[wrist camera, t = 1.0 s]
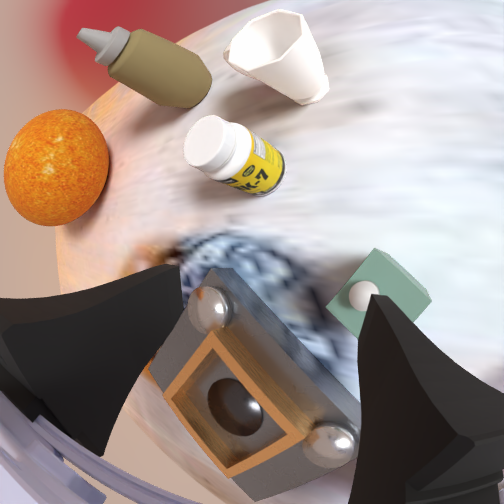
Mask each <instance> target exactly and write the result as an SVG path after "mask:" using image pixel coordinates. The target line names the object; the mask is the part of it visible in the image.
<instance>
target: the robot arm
mask: <svg viewBox="0 0 504 504" xmlns="http://www.w3.org/2000/svg"><path fill="white" fill-rule="evenodd" d="M183 310H184V308H183V299H182V290H181V281H180V270H179V266H175V265H169V264H163V265H159V266H155V267H152V268H149V269H146V270H143V271H140V272H138V273H135V274H132V275H129V276H127V277H124V278H121V279H118V280H115V281H112V282H109V283H106V284H103V285H100V286H97V287H94V288H90V289H86V290H82V291H78V292H74V293H69V294H63V295H57V296H51V297H44V298H28V299H10V298H0V504H103V503H104V501H105V500H106V495H105V494H103V493H102V492H100V491H99V490H97V489H96V488H95V487H93V486H92V485H91V484H89V483H88V482H87V481H85V480H84V479H83V478H82V477H80V476H79V475H78V474H77V473H76V472H75V471H74V470H72V469H71V468H70V467H68V466H67V465H66V464H65V463H64V460H63V457H64V458H65V459H67V460H68V461H69V462H71V463H72V464H73V465H75V466H76V467H78V468H79V469H80V470H82V471H83V472H85V473H86V474H88V475H89V476H91V477H92V478H94V479H96V480H97V481H99V482H100V483H102V484H104V485H105V486H107V487H109V488H110V489H112V490H114V491H116V492H117V493H119V494H121V495H123V496H125V497H127V498H128V499H130V500H132V501H134V502H136V503H138V504H201V503H198V502H195V501H192V500H189V499H186V498H183V497H181V496H178V495H175V494H173V493H170V492H168V491H165V490H163V489H161V488H158V487H156V486H154V485H151V484H149V483H147V482H145V481H143V480H141V479H139V478H137V477H135V476H133V475H131V474H129V473H127V472H125V471H123V470H121V469H119V468H117V467H116V466H114V465H112V464H110V463H109V462H107V461H105V460H103V459H102V458H100V457H101V456H103V455H104V452H105V448H106V445H107V442H108V440H109V437H110V434H111V431H112V429H113V426H114V424H115V422H116V420H117V417H118V415H119V413H120V410H121V408H122V406H123V404H124V402H125V400H126V398H127V396H128V394H129V392H130V391H131V389H132V387H133V385H134V384H135V382H136V380H137V378H138V377H139V375H140V373H141V372H142V370H143V369H144V367H145V366H146V365H147V363H148V362H149V361H150V359H151V358H152V357H153V356H154V354H155V353H156V352H157V350H158V349H159V348H160V346H161V345H162V344H163V342H164V341H165V340H166V338H167V337H168V336H169V334H170V333H171V332H172V330H173V329H174V327H175V325H176V323H177V322H178V320H179V318H180V316H181V314H182V312H183ZM357 363H358V374H359V387H360V400H361V431H360V442H359V450H358V457H357V464H356V470H355V475H354V480H353V485H352V490H351V494H350V498H349V502H348V504H504V488H503V489H501V490H499V491H498V484H497V483H500V482H501V481H502V480H503V478H504V477H503V471H502V469H504V393H502V392H500V391H498V390H496V389H495V388H493V387H491V386H489V385H487V384H486V383H484V382H483V381H481V380H479V379H478V378H476V377H475V376H473V375H472V374H471V373H469V372H468V371H466V370H465V369H463V368H462V367H461V366H459V365H458V364H457V363H455V362H454V361H453V360H452V359H451V358H449V357H448V356H447V355H446V354H445V353H443V352H442V351H441V350H440V349H439V348H438V347H437V346H436V345H435V344H434V343H433V342H432V341H430V340H429V339H428V338H427V337H426V336H425V335H424V334H423V333H422V332H421V331H420V330H419V329H418V327H417V326H416V325H415V324H414V323H413V322H412V321H411V320H410V319H409V318H408V317H407V316H406V315H405V313H404V312H403V311H402V310H401V309H400V308H399V307H398V306H397V305H396V304H395V303H394V302H393V301H392V300H391V299H390V298H389V297H388V296H387V295H378V294H371V296H370V300H369V304H368V307H367V311H366V314H365V318H364V321H363V325H362V328H361V331H360V334H359V337H358V360H357ZM62 456H63V457H62Z"/></svg>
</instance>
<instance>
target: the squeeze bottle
mask: <svg viewBox="0 0 504 504" xmlns="http://www.w3.org/2000/svg"><path fill="white" fill-rule="evenodd" d="M77 38H78V39H80V40H81V41H82V42H84V43H85V44H87V45H88V46H89V47H91V48H92V49H93V50H95V51H96V52H97V54H96V57H95V61H96V62H97V63H100V64H102V65H104V66H107V65H108V74H109V76H110V77H112V78H114V79H115V80H117V81H119V82H121V83H122V84H124V85H126V86H128V87H129V88H131V89H133V90H135V91H136V92H138V93H140V94H141V95H143V96H145V97H146V98H148V99H150V100H151V101H153V102H155V103H156V104H158V105H160V106H172V107H181V108H190V107H193V106H195V105H196V104H198V103H199V102H200V101H201V100H202V99H203V98H204V97H205V95H206V94H207V93H208V91H209V89H210V87H211V82H212V77H211V74H210V72H209V71H208V69H207V68H206V66H205V65H204V63H203V62H202V60H201V59H200V57H199V56H198V55H196V54H195V53H193V52H191V51H189V50H187V49H185V48H183V47H181V46H179V45H177V44H175V43H173V42H170V41H168V40H166V39H164V38H162V37H159V36H157V35H154V34H152V33H150V32H148V31H145V30H143V29H139V30H136V31H133V32H131V33H130V32H129V31H127V30H125V29H123V28H121V27H116V28H115V29H114V30H113V31H112V32H111V33H110V32H104V31H99V30H92V29H86V28H82V29H81V30H80V32H79V33H78V35H77Z"/></svg>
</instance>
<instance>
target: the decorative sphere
mask: <svg viewBox="0 0 504 504" xmlns="http://www.w3.org/2000/svg"><path fill="white" fill-rule="evenodd" d="M108 167H109V156H108V149H107V145H106V141H105V139H104V136H103V134H102V133H101V131H100V129H99V128H98V126H97V125H96V124H95V123H94V122H93V121H92V120H91V119H89V118H88V117H87V116H85V115H83V114H81V113H78V112H76V111H72V110H66V109H59V110H53V111H48V112H46V113H43V114H41V115H38V116H37V117H35V118H34V119H32V120H31V121H29V122H28V123H27V124H26V125H25V126H24V127H23V128H22V129H21V130H20V131H19V132H18V134H17V135H16V136H15V138H14V140H13V141H12V143H11V145H10V147H9V150H8V152H7V156H6V160H5V165H4V183H5V189H6V192H7V195H8V197H9V200H10V202H11V204H12V205H13V207H14V208H15V209H16V210H17V212H18V213H19V214H20V215H21V216H23V217H24V218H26V219H27V220H29V221H31V222H33V223H35V224H38V225H43V226H58V225H63V224H66V223H69V222H71V221H73V220H75V219H77V218H79V217H80V216H81V215H83V214H84V213H85V212H86V211H87V210H88V209H89V208H90V207H91V206H92V205H93V204H94V203H95V201H96V200H97V198H98V197H99V195H100V193H101V191H102V189H103V187H104V184H105V181H106V178H107V173H108Z"/></svg>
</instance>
